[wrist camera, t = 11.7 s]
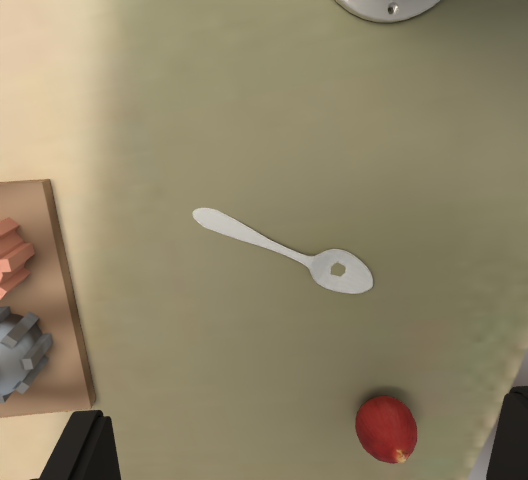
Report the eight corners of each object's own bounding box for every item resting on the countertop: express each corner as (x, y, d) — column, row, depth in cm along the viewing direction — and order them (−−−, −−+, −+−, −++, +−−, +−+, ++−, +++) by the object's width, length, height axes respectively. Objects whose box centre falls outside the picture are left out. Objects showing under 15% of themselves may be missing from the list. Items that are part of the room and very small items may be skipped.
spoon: (357, 298, 41) (363, 306, 39) (158, 220, 37) (155, 225, 35) (377, 262, 40) (383, 268, 38) (174, 178, 36) (172, 181, 34)
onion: (398, 420, 45) (433, 483, 38) (347, 427, 45) (372, 492, 37) (399, 376, 43) (436, 432, 36) (345, 383, 43) (371, 441, 36)
